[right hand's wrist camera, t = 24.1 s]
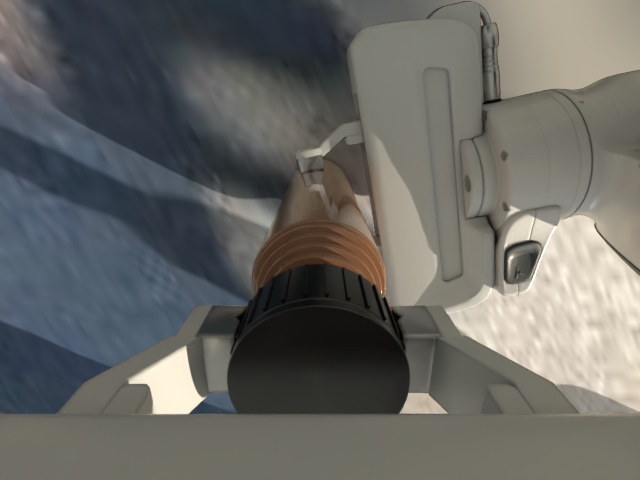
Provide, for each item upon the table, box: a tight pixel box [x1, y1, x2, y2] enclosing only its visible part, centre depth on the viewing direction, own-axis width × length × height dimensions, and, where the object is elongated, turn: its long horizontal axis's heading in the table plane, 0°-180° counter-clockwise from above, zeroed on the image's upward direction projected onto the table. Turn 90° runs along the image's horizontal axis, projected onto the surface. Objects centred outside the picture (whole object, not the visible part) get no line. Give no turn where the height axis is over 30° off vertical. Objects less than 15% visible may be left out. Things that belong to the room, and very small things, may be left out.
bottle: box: [252, 159, 386, 297], centre depth 19 cm, size 5×5×22 cm
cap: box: [227, 263, 410, 414], centre depth 9 cm, size 4×4×2 cm
